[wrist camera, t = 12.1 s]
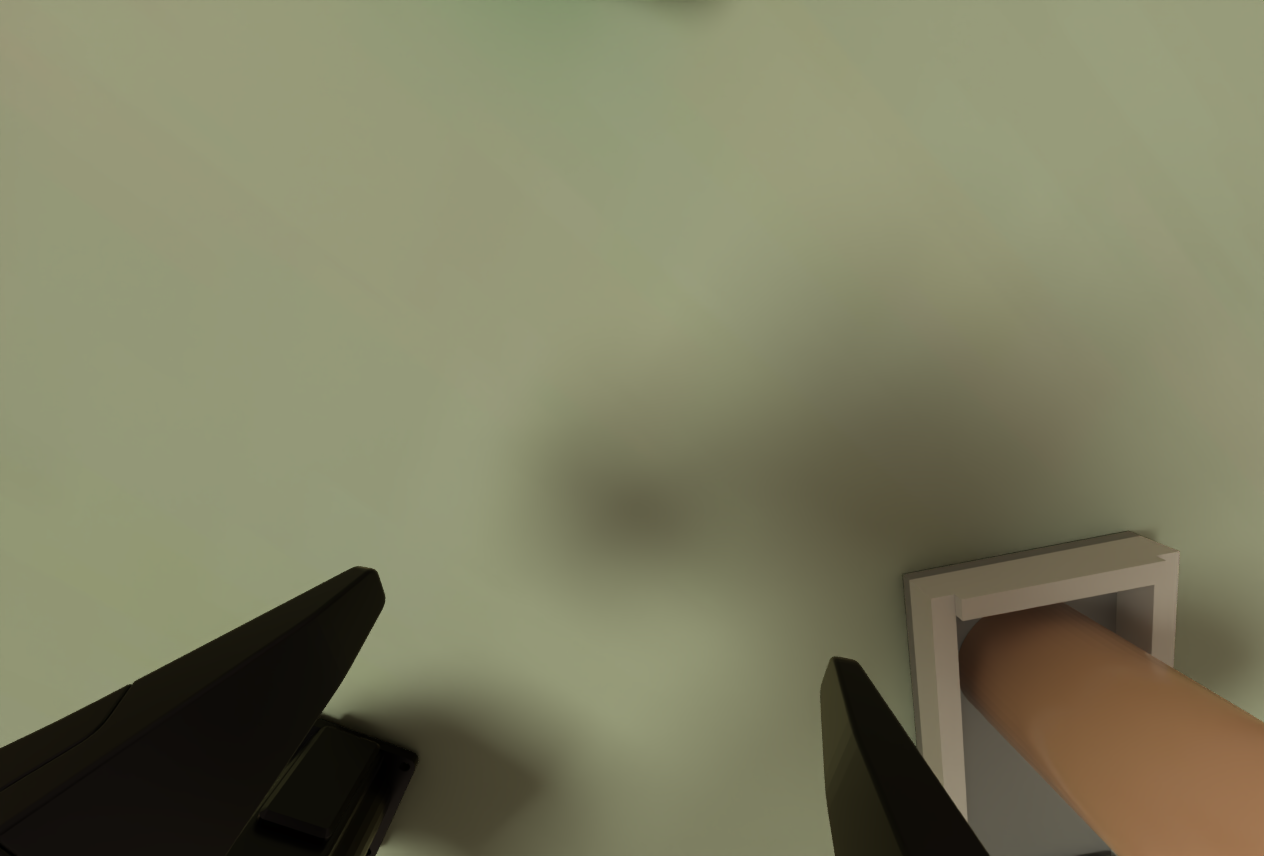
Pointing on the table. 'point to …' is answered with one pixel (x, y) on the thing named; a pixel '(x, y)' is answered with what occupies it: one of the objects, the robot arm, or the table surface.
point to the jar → (1120, 734)
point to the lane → (961, 736)
